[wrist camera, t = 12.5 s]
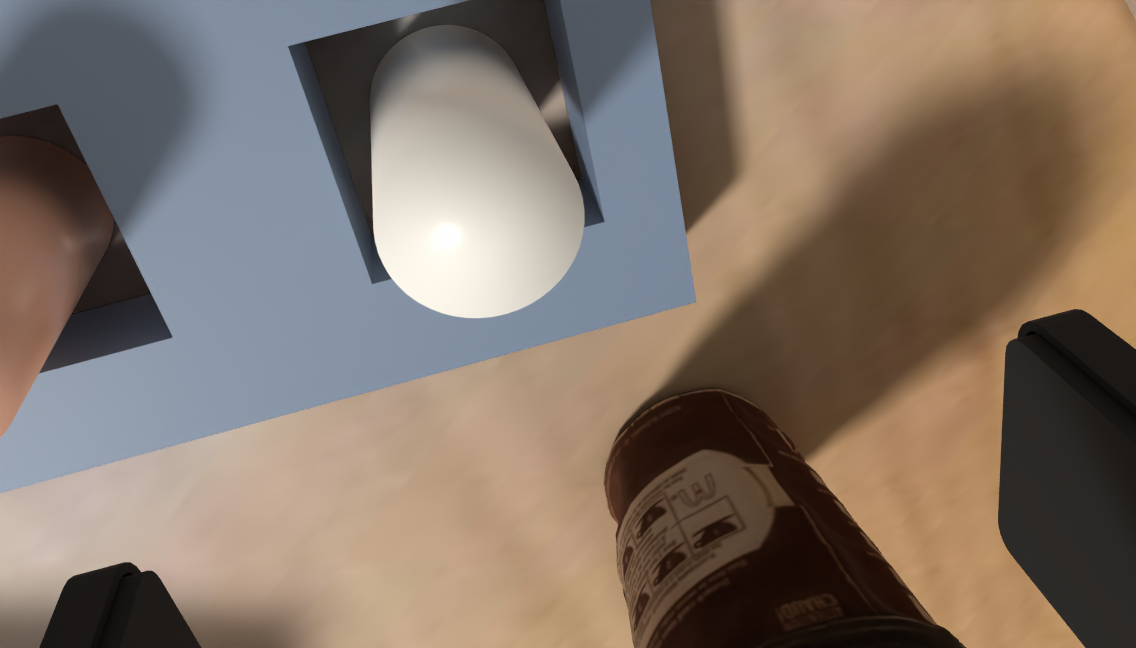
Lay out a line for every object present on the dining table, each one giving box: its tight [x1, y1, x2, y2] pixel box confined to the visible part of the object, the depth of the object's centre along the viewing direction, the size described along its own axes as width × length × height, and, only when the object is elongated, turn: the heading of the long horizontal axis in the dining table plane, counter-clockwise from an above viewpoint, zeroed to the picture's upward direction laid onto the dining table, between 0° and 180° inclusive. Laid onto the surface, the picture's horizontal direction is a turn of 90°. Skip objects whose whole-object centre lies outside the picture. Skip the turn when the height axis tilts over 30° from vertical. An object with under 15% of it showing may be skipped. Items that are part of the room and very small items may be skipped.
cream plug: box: [370, 25, 584, 318], centre depth 22 cm, size 4×4×8 cm
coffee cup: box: [604, 389, 966, 648], centre depth 27 cm, size 9×8×13 cm
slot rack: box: [0, 0, 696, 493], centre depth 23 cm, size 21×12×3 cm, turn 102°
